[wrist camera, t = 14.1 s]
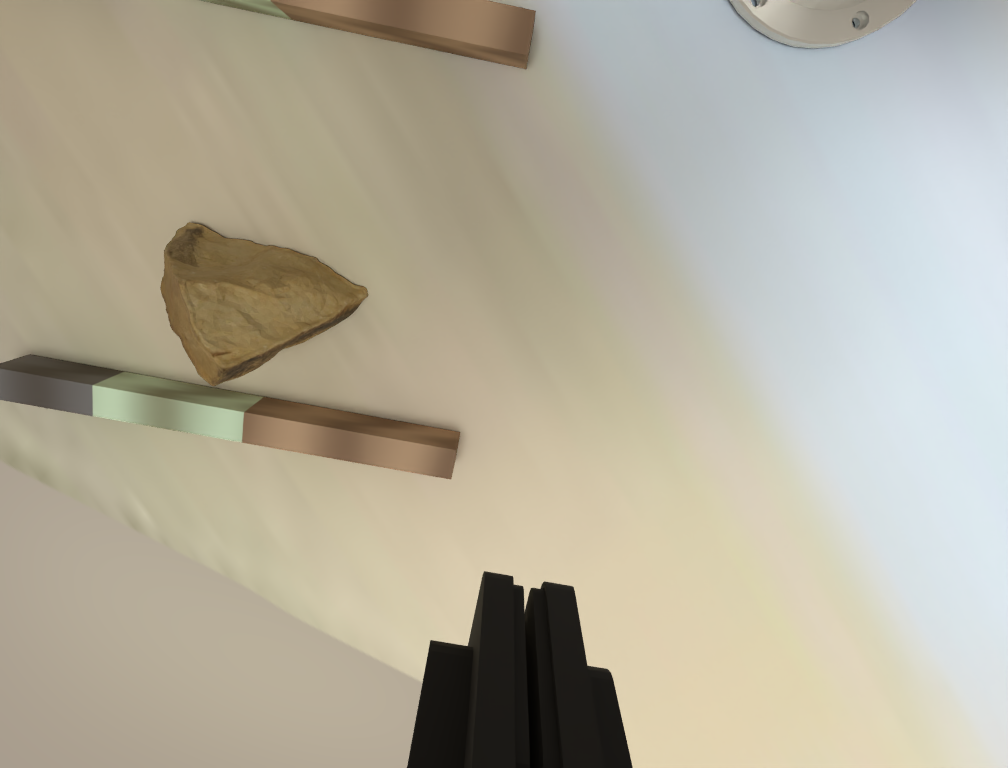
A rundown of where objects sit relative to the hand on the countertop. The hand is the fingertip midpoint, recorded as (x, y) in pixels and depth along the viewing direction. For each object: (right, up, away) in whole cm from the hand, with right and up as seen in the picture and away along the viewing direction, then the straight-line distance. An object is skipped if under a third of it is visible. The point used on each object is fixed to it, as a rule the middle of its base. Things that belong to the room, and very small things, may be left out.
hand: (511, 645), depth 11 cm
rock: (-15, +12, +25) cm, 31 cm away
